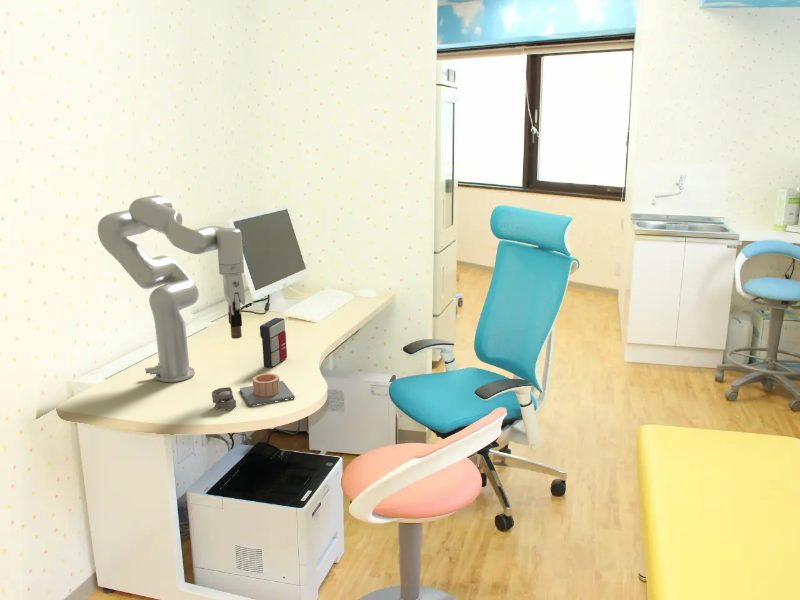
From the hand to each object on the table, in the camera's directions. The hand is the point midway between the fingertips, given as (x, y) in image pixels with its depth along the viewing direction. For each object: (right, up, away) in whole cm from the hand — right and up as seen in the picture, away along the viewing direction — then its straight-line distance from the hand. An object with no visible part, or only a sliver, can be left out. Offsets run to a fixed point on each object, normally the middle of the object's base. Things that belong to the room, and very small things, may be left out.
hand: (235, 324), depth 225 cm
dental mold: (-1, -25, -10) cm, 27 cm away
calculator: (+8, -15, +27) cm, 32 cm away
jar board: (+10, -22, -2) cm, 25 cm away
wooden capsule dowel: (0, -4, +1) cm, 4 cm away
